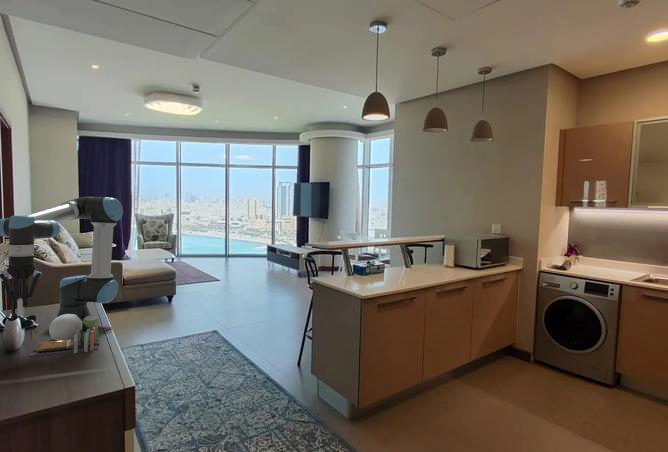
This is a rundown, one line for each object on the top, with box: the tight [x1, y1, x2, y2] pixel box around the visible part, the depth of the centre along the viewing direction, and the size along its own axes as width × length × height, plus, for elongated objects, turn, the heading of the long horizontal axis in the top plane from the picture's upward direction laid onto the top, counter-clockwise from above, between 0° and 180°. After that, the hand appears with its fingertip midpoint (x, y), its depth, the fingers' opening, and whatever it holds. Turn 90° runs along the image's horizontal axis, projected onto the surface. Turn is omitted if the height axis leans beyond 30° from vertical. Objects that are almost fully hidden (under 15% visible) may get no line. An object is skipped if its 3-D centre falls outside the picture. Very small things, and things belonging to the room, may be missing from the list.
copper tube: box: [35, 339, 74, 353], centre depth 153 cm, size 12×4×4 cm, turn 116°
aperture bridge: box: [90, 327, 97, 352], centre depth 158 cm, size 8×1×8 cm, turn 26°
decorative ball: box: [48, 314, 83, 341], centre depth 166 cm, size 12×12×12 cm
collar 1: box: [73, 329, 82, 354], centre depth 155 cm, size 9×1×7 cm, turn 26°
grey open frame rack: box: [27, 342, 101, 359], centre depth 154 cm, size 9×23×2 cm, turn 116°
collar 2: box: [83, 328, 91, 353], centre depth 157 cm, size 9×1×7 cm, turn 26°
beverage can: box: [81, 314, 100, 343], centre depth 165 cm, size 6×7×12 cm
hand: (20, 315), depth 146 cm, fingers closed
